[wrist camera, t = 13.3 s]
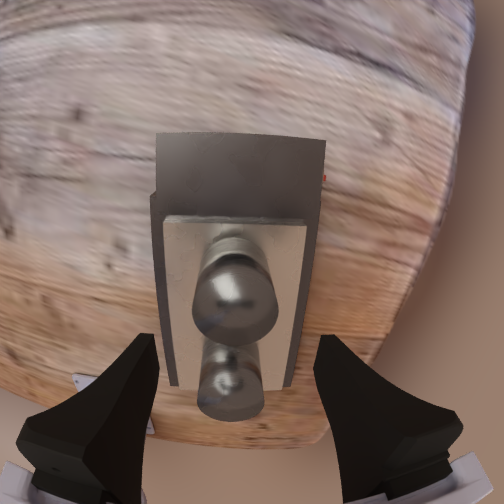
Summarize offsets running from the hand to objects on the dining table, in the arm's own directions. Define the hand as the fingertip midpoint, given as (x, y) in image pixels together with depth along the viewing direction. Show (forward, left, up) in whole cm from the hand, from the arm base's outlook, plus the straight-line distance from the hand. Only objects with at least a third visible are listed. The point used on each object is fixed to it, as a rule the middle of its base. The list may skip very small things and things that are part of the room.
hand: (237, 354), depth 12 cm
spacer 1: (0, 0, -8) cm, 8 cm away
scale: (-2, 0, -10) cm, 11 cm away
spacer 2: (-7, 0, -8) cm, 11 cm away
